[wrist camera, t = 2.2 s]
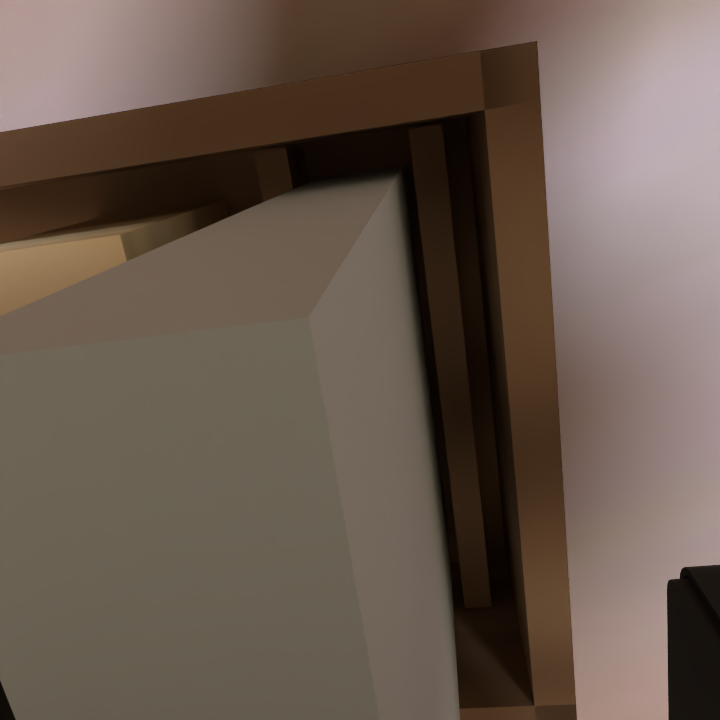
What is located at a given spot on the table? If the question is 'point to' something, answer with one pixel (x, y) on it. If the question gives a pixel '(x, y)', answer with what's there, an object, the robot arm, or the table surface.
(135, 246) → the tall pine offcut
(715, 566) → the robot arm
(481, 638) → the walnut rack
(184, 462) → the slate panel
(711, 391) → the table surface
